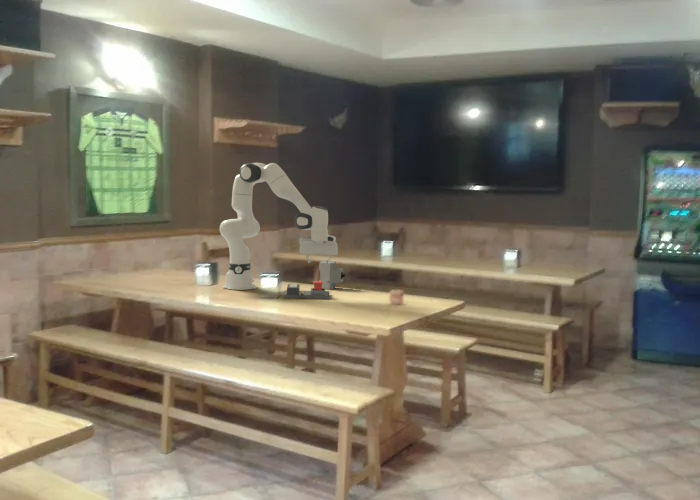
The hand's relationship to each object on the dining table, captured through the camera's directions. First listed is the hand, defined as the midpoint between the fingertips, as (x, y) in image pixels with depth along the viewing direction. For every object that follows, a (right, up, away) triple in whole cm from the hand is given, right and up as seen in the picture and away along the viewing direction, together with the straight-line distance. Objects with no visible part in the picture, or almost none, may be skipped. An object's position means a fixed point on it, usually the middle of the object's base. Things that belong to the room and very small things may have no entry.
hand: (318, 263), depth 360 cm
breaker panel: (-6, -18, +1) cm, 19 cm away
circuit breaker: (+6, -15, +32) cm, 36 cm away
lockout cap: (0, -16, +1) cm, 16 cm away
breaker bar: (-13, -15, +1) cm, 20 cm away
